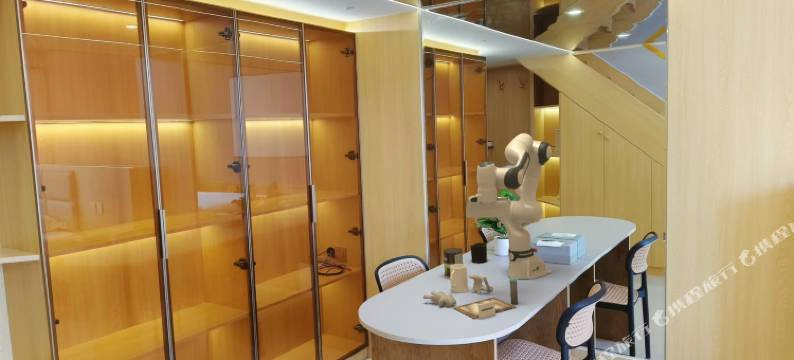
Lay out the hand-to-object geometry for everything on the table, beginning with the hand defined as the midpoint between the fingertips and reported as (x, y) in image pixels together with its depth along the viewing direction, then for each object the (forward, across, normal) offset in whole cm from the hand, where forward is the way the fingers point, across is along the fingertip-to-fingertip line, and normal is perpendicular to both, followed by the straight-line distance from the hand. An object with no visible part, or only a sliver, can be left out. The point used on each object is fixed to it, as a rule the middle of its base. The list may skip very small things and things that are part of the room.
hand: (488, 227), depth 250 cm
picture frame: (+33, +2, +16) cm, 37 cm away
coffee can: (+32, +21, -33) cm, 51 cm away
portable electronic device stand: (+33, +6, -7) cm, 34 cm away
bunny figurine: (+33, +22, +10) cm, 42 cm away
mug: (+33, +17, -8) cm, 38 cm away
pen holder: (+32, +10, -61) cm, 69 cm away
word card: (+33, +1, +26) cm, 42 cm away
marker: (+33, -10, +10) cm, 36 cm away
